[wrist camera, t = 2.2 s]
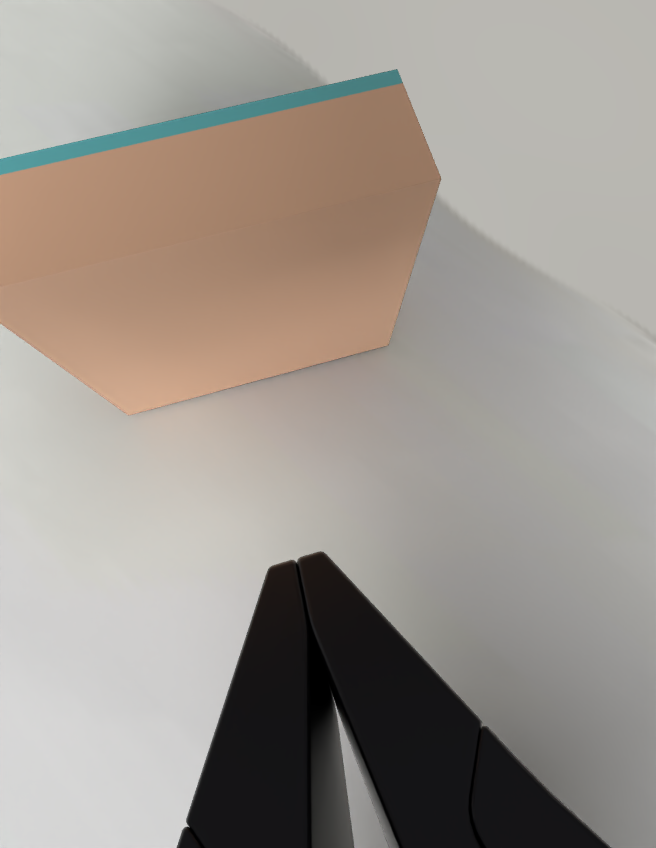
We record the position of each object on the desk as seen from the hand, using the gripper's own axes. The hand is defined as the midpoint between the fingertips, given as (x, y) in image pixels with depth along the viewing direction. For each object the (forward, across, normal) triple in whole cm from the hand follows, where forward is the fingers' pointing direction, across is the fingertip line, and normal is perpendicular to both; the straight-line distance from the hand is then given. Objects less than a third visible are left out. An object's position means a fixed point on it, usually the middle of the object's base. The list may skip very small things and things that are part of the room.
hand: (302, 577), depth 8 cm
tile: (+13, 0, +1) cm, 13 cm away
